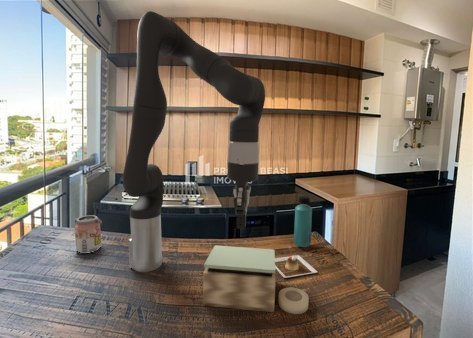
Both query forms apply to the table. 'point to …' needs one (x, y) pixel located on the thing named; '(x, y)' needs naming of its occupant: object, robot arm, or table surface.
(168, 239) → the table surface
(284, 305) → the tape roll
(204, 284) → the crate
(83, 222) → the beverage can
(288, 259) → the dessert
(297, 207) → the beverage bottle
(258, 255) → the lid
